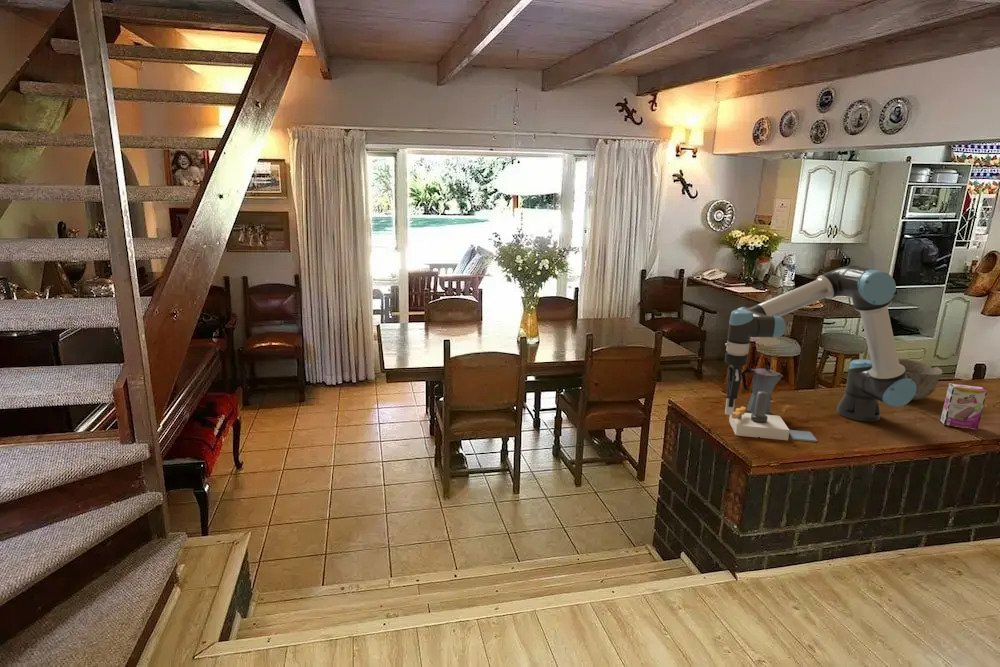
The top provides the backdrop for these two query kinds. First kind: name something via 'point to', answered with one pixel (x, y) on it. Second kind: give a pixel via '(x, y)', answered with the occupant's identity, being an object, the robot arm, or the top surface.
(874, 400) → the robot arm
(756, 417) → the plug
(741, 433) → the socket board
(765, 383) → the moka pot
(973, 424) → the candy bar box
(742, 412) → the orange bar with knob
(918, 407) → the top surface
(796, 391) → the top surface
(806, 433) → the pad
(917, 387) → the bowl
